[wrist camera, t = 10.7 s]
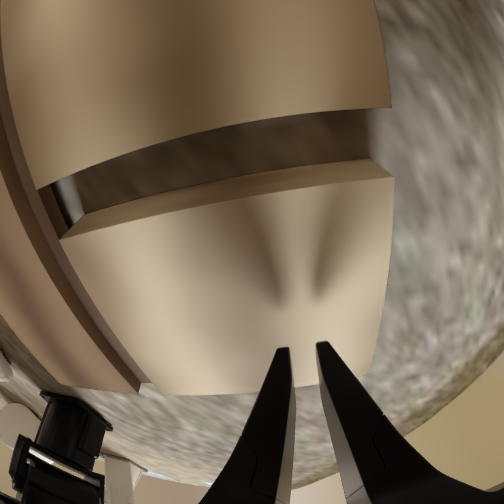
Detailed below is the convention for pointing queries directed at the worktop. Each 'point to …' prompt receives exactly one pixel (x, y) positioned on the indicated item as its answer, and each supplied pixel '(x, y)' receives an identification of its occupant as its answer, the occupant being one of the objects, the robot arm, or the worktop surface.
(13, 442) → the mug
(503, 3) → the worktop surface
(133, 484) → the skyscraper
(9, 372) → the white honeycomb tray
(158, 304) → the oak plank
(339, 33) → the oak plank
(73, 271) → the walnut board
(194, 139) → the worktop surface
